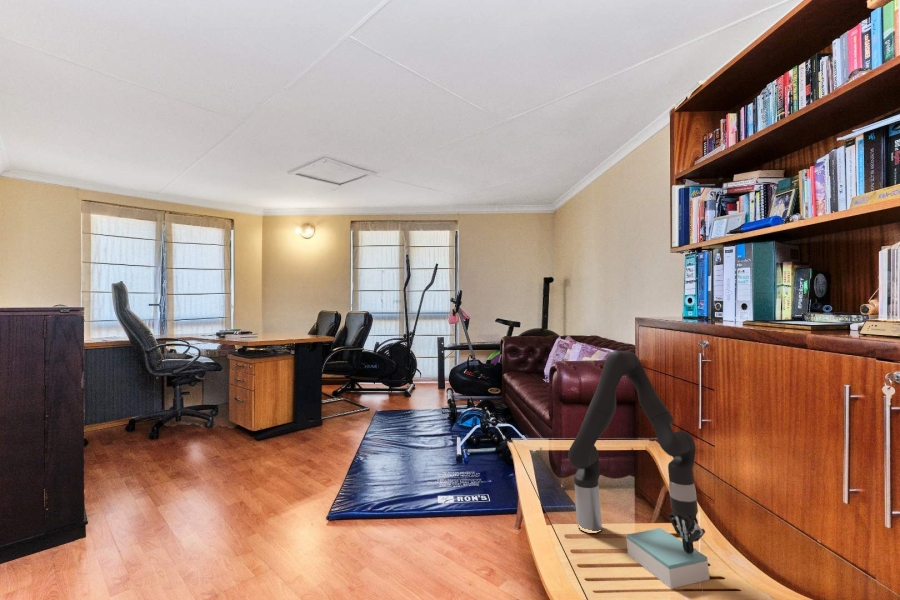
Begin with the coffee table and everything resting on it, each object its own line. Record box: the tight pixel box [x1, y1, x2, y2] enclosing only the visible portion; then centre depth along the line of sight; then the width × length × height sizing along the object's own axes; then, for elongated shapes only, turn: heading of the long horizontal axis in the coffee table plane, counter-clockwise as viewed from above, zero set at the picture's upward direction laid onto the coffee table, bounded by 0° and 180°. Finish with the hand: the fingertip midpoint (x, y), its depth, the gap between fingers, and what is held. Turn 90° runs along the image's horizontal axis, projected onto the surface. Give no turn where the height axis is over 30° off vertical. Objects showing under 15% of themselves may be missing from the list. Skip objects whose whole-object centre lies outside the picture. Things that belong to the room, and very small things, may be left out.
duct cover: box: [625, 527, 708, 569], centre depth 130 cm, size 20×14×1 cm
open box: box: [626, 537, 710, 589], centre depth 130 cm, size 20×14×6 cm
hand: (688, 551), depth 126 cm, fingers closed
